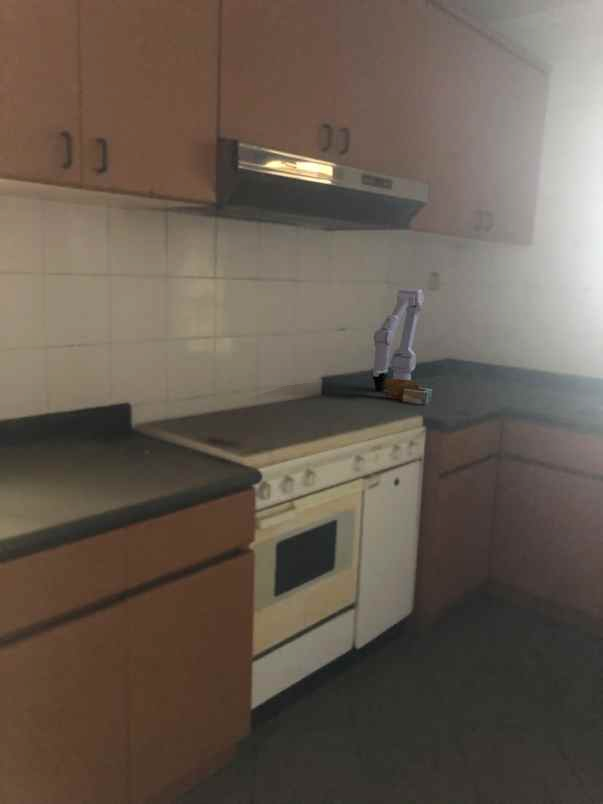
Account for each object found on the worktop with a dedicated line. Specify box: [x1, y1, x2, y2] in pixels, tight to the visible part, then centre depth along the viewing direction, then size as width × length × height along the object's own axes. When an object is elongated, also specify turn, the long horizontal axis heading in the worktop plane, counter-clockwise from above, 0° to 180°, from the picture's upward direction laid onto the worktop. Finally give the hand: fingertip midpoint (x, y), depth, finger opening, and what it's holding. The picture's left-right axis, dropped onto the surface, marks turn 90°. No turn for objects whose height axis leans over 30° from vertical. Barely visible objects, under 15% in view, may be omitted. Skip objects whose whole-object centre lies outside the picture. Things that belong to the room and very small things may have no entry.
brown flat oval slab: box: [381, 377, 419, 401], centre depth 272 cm, size 15×3×8 cm, turn 73°
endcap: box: [402, 387, 433, 406], centre depth 270 cm, size 10×10×5 cm
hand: (378, 391), depth 275 cm, fingers closed, pressing on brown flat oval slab
